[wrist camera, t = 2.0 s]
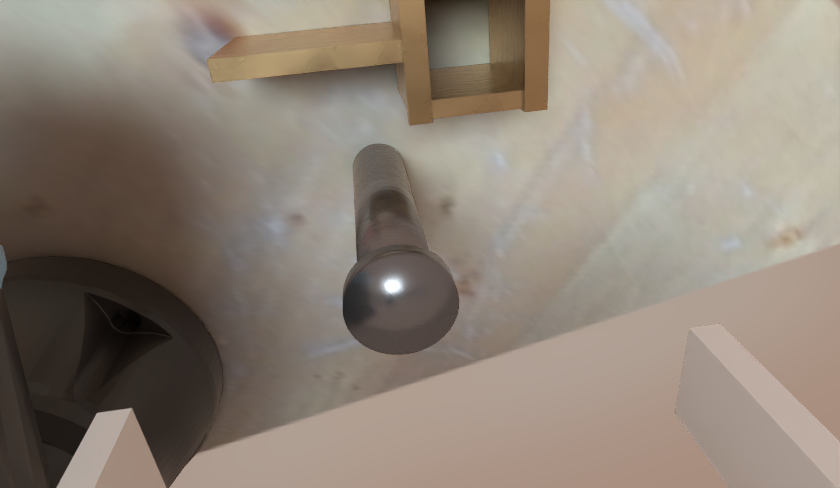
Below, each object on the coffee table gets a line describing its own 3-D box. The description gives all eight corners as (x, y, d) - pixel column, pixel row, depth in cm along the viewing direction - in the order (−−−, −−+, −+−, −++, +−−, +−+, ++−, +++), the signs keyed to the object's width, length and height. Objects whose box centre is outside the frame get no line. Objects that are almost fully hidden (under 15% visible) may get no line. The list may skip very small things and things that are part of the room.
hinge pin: (348, 204, 29) (351, 361, 18) (337, 138, 28) (334, 265, 16) (416, 196, 30) (461, 346, 18) (410, 129, 28) (455, 249, 17)
